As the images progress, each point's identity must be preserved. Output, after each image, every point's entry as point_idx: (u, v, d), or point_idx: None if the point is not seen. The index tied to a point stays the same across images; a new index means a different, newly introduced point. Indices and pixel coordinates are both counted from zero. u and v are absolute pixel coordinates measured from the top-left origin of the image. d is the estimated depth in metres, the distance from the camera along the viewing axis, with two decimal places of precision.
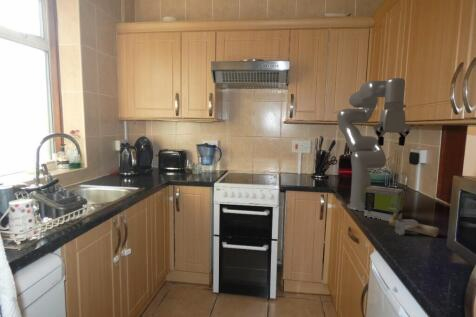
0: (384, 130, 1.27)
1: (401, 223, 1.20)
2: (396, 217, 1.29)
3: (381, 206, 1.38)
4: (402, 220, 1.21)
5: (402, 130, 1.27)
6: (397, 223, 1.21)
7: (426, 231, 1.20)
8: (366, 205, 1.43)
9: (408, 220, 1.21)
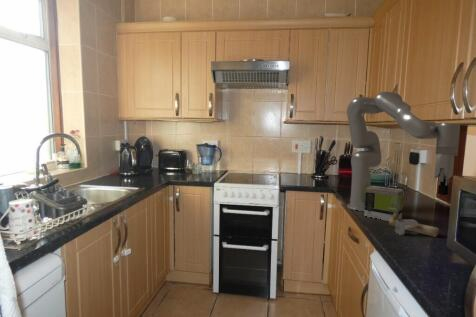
0: (446, 177, 1.18)
1: (401, 223, 1.20)
2: (396, 217, 1.29)
3: (381, 206, 1.38)
4: (402, 220, 1.21)
5: None
6: (397, 223, 1.21)
7: (426, 231, 1.20)
8: (366, 205, 1.43)
9: (408, 220, 1.21)
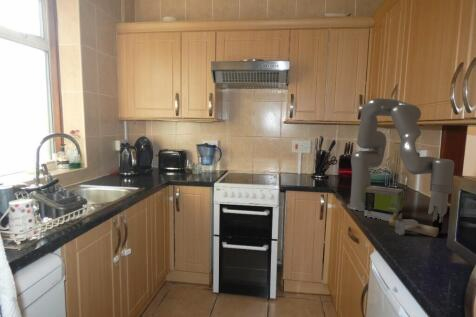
0: (440, 215, 1.17)
1: (401, 223, 1.20)
2: (396, 217, 1.29)
3: (381, 206, 1.38)
4: (402, 220, 1.21)
5: (446, 211, 1.22)
6: (397, 223, 1.21)
7: (426, 231, 1.20)
8: (366, 205, 1.43)
9: (408, 220, 1.21)
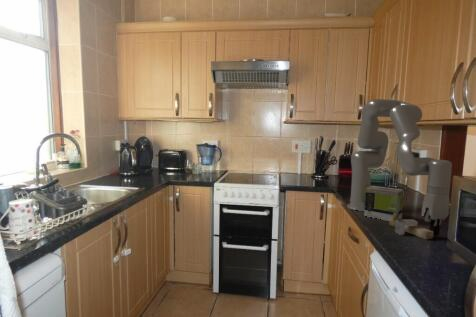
0: (431, 218, 1.14)
1: (401, 223, 1.20)
2: (395, 217, 1.29)
3: (381, 206, 1.38)
4: (402, 220, 1.21)
5: (446, 216, 1.16)
6: (397, 223, 1.21)
7: (418, 232, 1.18)
8: (366, 205, 1.43)
9: (408, 220, 1.21)
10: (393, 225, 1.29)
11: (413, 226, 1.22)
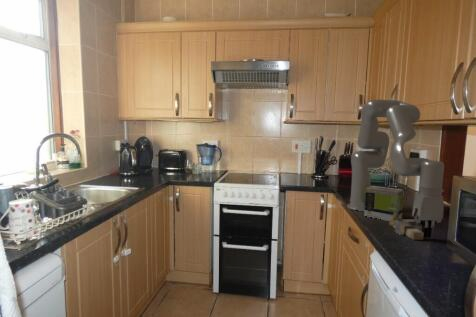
0: (419, 218, 1.13)
1: (401, 223, 1.20)
2: (394, 217, 1.30)
3: (381, 206, 1.38)
4: (402, 220, 1.21)
5: (440, 218, 1.13)
6: (397, 223, 1.21)
7: (408, 232, 1.18)
8: (366, 205, 1.43)
9: (408, 220, 1.21)
10: (391, 224, 1.30)
11: (407, 226, 1.21)
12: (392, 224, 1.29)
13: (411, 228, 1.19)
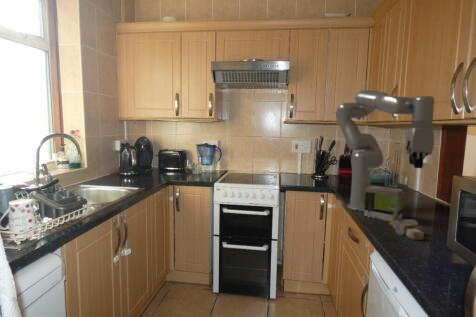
0: (412, 149, 1.23)
1: (401, 223, 1.20)
2: (394, 217, 1.30)
3: (381, 206, 1.38)
4: (402, 220, 1.21)
5: (430, 149, 1.23)
6: (397, 223, 1.21)
7: (408, 232, 1.18)
8: (366, 205, 1.43)
9: (408, 220, 1.21)
10: (391, 224, 1.30)
11: (407, 226, 1.21)
12: (392, 224, 1.29)
13: (411, 228, 1.19)
